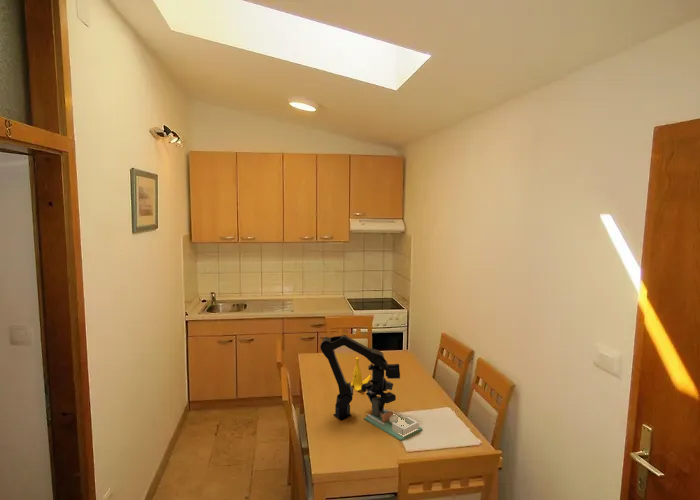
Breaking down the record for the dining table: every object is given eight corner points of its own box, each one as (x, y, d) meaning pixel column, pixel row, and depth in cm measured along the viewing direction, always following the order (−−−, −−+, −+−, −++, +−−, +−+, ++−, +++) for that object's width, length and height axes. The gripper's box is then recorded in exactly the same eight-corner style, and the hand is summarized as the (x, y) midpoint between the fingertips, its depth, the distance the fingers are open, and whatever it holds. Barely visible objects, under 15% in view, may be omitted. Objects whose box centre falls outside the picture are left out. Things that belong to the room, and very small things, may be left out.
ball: (393, 426, 189) (393, 418, 189) (387, 423, 192) (387, 415, 192) (399, 424, 192) (399, 415, 191) (393, 420, 195) (393, 412, 195)
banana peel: (362, 395, 224) (362, 364, 222) (338, 384, 238) (338, 356, 236) (382, 385, 236) (382, 357, 234) (358, 376, 249) (358, 349, 247)
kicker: (383, 422, 193) (383, 405, 192) (370, 414, 200) (370, 398, 199) (392, 418, 197) (393, 402, 196) (379, 410, 204) (379, 395, 203)
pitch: (400, 441, 179) (400, 431, 179) (364, 419, 198) (364, 410, 197) (422, 430, 188) (422, 421, 187) (385, 410, 206) (385, 402, 206)
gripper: (404, 380, 196) (403, 411, 198) (377, 368, 211) (376, 397, 212) (387, 386, 189) (386, 419, 191) (360, 373, 204) (360, 404, 205)
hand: (377, 409), depth 200 cm, fingers open, 4 cm apart
